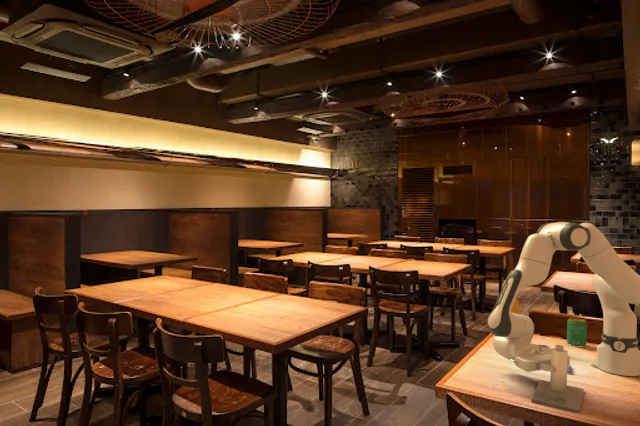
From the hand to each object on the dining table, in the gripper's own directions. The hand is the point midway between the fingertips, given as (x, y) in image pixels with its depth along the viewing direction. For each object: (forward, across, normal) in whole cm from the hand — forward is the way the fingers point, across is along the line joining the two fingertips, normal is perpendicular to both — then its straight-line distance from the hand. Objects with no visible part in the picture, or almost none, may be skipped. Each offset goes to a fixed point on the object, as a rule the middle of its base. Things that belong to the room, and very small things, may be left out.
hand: (561, 368), depth 155 cm
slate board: (-1, 0, +10) cm, 10 cm away
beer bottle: (-58, +30, +10) cm, 66 cm away
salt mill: (-1, 0, +7) cm, 7 cm away
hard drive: (-22, +21, +11) cm, 32 cm away
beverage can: (-42, +58, +10) cm, 72 cm away
